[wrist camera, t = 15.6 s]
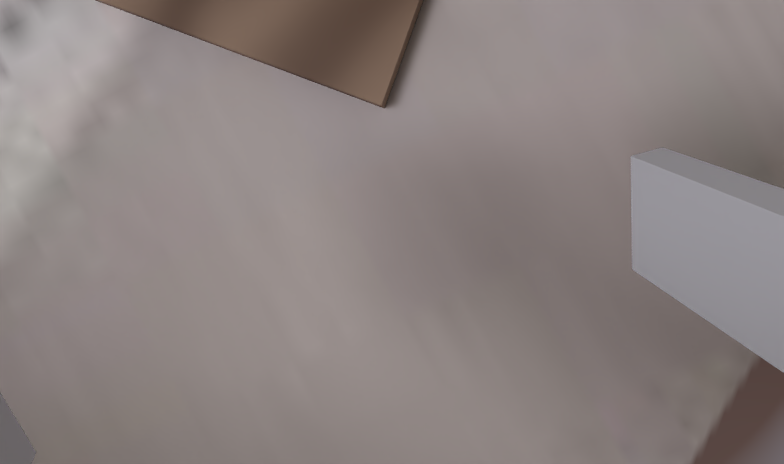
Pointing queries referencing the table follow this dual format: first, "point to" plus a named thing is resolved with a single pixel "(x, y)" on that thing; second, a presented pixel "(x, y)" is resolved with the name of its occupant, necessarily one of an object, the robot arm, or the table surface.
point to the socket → (300, 36)
